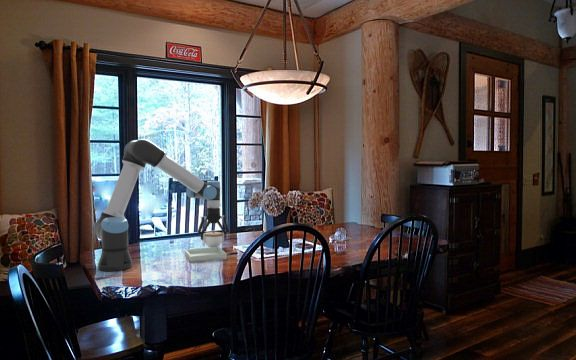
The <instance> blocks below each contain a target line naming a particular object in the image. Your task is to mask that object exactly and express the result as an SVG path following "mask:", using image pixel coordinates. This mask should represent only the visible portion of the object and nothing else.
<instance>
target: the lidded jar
mask: <svg viewBox="0 0 576 360" xmlns="http://www.w3.org/2000/svg"><path fill="white" fill-rule="evenodd" d="M204 234H205V245H206V246H207V248H211V247H219V246H221V245H222V235H223V232H220V231H215V230H212V231H208V232H204ZM219 248H220V247H219Z"/></svg>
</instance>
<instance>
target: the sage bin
mask: <svg viewBox="0 0 576 360" xmlns="http://www.w3.org/2000/svg"><path fill="white" fill-rule="evenodd" d="M184 257H186V258H187V260H188V262H190V263H198V262H209V261H211V262H212V261H222V260H227V259H228V258H227V257H228V254H227V253H226V251H224V250H223V249H222V248H220V247H201V248H200V247H199V248H188V249H185V248H184Z"/></svg>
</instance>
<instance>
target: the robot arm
mask: <svg viewBox="0 0 576 360" xmlns="http://www.w3.org/2000/svg"><path fill="white" fill-rule="evenodd" d="M123 154H124V155H123V156H122V159H121V162H122V164H123V165H122V169H121V171H120V173H119V176H118V179H117V181H116V183H115V187H114V188H113V191H112V194H111V197H110V200H109V202H108V204H107V208H106V209H105V210H102V211H101V214H100V215H99V218H98V219H97V220H96V222H95V223H94V228H93V232H94V235H95V236H96V237H97V238H98V239H99V240H100V241H101V255H100V258H99V260H98V264H97V270H99V271H101V272H117V271H118V272H119V271H123V270H129V269H131V268H132V267H133V258H132V256H131V254H130V252H129V223H128V221H129V220H128V219H127V218H126V217H125V212H126V210H127V208H128V204H129V203H130V202H129V201H130V199H131V196H132V193H133V191H134V188H135V186H136V182H137V180H138V178H139V175H140V173H141V171H142V170H144V169H145V168H146V165H150V166H151V167H153V168H157V169H159V170H160V171H162V172H164V173H165V174H167V175H168V176H169V177H171V178H172V179H174V180H176V181H177V182H178V183H180V184H181V185H183V186H185V187H186V196H187V197H188V198H190V199H202V200H203V199H204V200H206V216H201V219H200V224H199V226H198V229H197V234H199V235H200V240H201V241H202V246H203V247H205V245H206V243H205V234H204V233H206V231H207V229H208V227H209V226H210V224H217V226H218V227H219V228H220V230H221V231H222V233H223V235H222V242H221V245H225V239H226V238H227V233H229V232H230V230H229V227H228V224H227V221H226V216H225V215H221V208H220V207H221V183H220V181H218V180H207V182H206V181H204V180H202V179H201V178H200V177H198V176H197V175H195V174H193V173H192V172H191V171H190V170H188V169H186V168H185V166H183V165H181V164H179V163H178V162H177V161H175V160H173V158H171V157H170V156H168V155H167V153H166V151H165V150H164V149H162V148H160V147H159V146H158V145H156V144H155V143H154V142H152V141H151V140H149V139H146V138H141V139H134V140H130V141H129V142H127V144H125V146H124V149H123ZM205 220H207V221H206V223H205ZM220 220H222V223H223V225H224V226H223V225H222V223H221V221H220ZM204 223H205V224H204ZM203 226H204V227H203Z"/></svg>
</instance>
